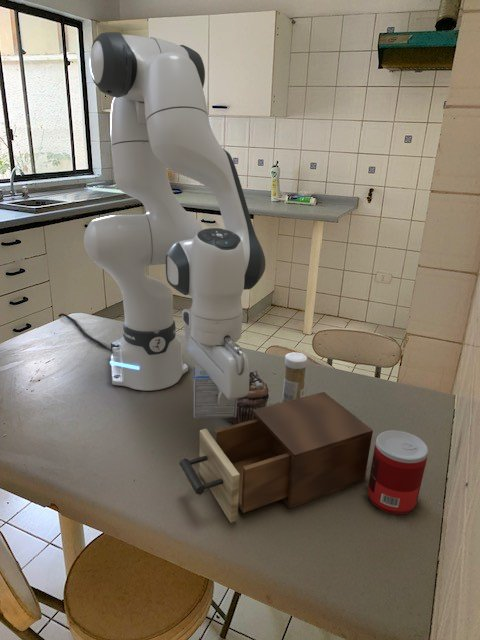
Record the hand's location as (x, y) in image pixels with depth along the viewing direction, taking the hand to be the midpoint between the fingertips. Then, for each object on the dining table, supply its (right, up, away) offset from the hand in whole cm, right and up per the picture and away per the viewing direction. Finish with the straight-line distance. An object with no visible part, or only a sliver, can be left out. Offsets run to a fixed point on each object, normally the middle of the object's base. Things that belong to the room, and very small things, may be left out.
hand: (214, 394), depth 85 cm
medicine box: (0, -4, +2) cm, 4 cm away
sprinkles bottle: (+16, -6, +16) cm, 23 cm away
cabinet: (+17, -13, -2) cm, 21 cm away
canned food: (+30, -16, -8) cm, 35 cm away
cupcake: (+6, -7, +14) cm, 16 cm away
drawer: (+5, -14, -8) cm, 17 cm away
